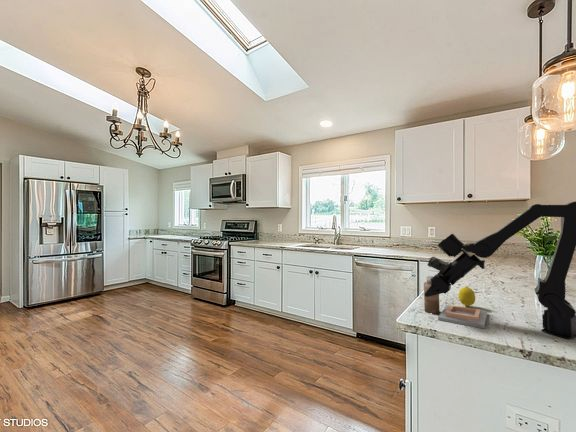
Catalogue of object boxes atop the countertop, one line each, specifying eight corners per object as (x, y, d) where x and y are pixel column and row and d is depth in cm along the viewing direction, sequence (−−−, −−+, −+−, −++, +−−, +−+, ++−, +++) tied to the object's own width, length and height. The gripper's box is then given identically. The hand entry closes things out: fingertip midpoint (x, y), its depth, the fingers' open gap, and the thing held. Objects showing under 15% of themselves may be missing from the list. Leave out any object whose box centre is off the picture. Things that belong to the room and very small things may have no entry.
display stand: (487, 314, 100) (487, 307, 100) (484, 328, 87) (484, 321, 87) (446, 307, 108) (446, 301, 108) (438, 320, 95) (438, 313, 95)
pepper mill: (442, 312, 102) (441, 277, 102) (432, 314, 100) (431, 278, 101) (431, 308, 107) (430, 275, 107) (421, 310, 105) (420, 276, 105)
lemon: (475, 310, 104) (475, 288, 104) (458, 307, 107) (457, 287, 107) (475, 306, 109) (474, 285, 109) (458, 304, 112) (458, 284, 112)
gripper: (446, 247, 109) (417, 272, 116) (436, 252, 94) (403, 281, 101) (470, 269, 104) (439, 294, 111) (464, 278, 89) (428, 306, 96)
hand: (427, 293), depth 105 cm, fingers open, 7 cm apart
